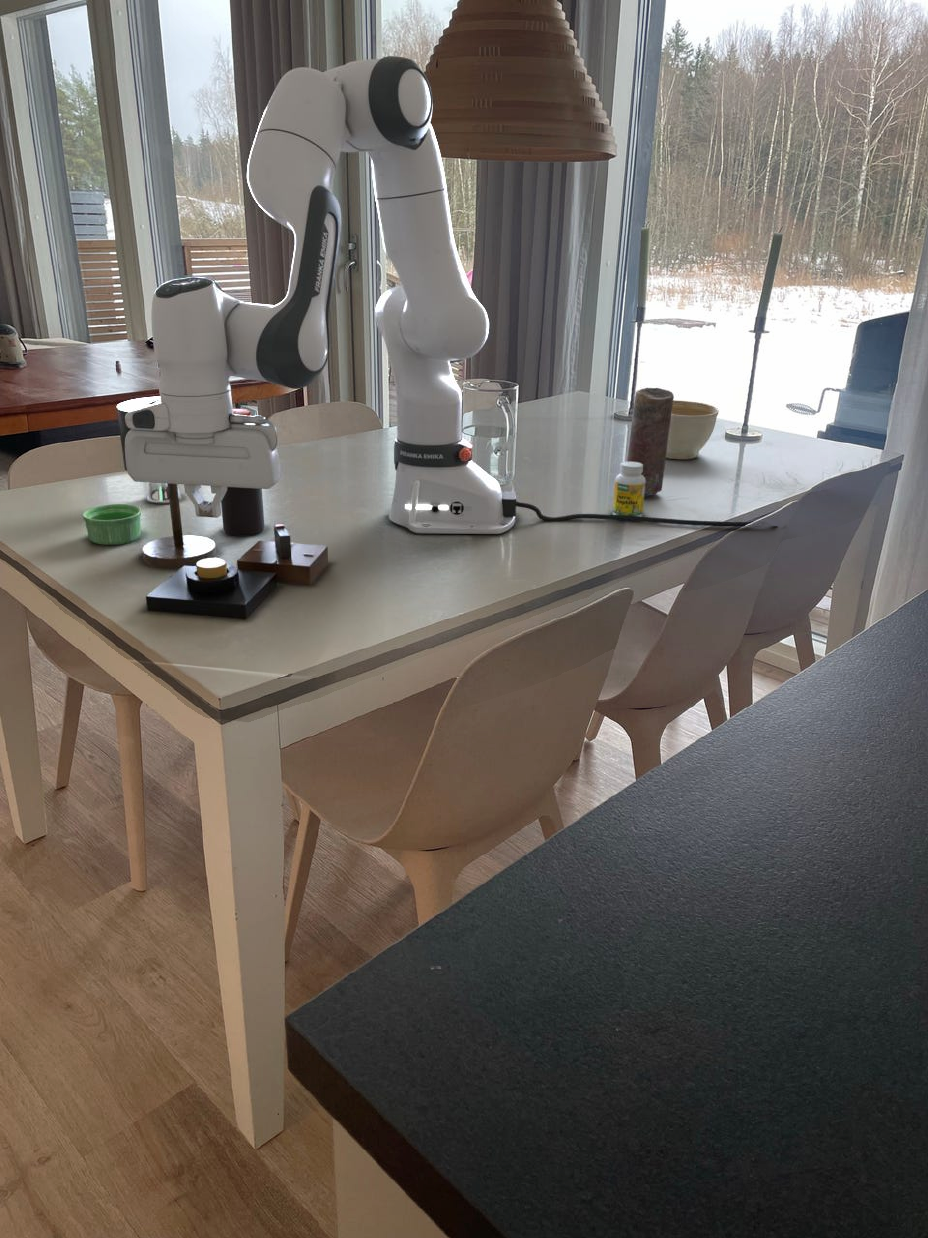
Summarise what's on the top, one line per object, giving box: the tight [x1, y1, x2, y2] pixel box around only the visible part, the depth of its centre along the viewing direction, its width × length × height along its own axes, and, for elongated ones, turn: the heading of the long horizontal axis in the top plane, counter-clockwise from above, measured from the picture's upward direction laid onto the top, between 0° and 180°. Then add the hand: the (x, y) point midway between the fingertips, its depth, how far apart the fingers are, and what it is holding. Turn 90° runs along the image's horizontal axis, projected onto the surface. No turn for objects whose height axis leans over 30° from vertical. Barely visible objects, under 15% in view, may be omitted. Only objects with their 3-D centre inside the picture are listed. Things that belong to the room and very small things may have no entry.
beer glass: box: [146, 482, 182, 505], centre depth 169 cm, size 7×7×15 cm
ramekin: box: [82, 503, 142, 546], centre depth 151 cm, size 9×9×4 cm
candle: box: [626, 387, 675, 497], centre depth 178 cm, size 8×7×20 cm
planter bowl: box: [666, 399, 720, 461], centre depth 209 cm, size 16×16×11 cm
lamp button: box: [196, 557, 227, 578], centre depth 128 cm, size 4×4×2 cm
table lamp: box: [115, 396, 217, 569], centre depth 140 cm, size 13×13×24 cm
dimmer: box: [236, 540, 329, 586], centre depth 139 cm, size 11×9×3 cm
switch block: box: [145, 563, 278, 621], centre depth 129 cm, size 14×12×4 cm
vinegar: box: [220, 408, 266, 537], centre depth 153 cm, size 7×7×20 cm
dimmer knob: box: [273, 523, 292, 559], centre depth 138 cm, size 5×2×4 cm, turn 21°
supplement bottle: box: [612, 461, 646, 517], centre depth 167 cm, size 5×5×10 cm
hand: (208, 515), depth 125 cm, fingers closed
